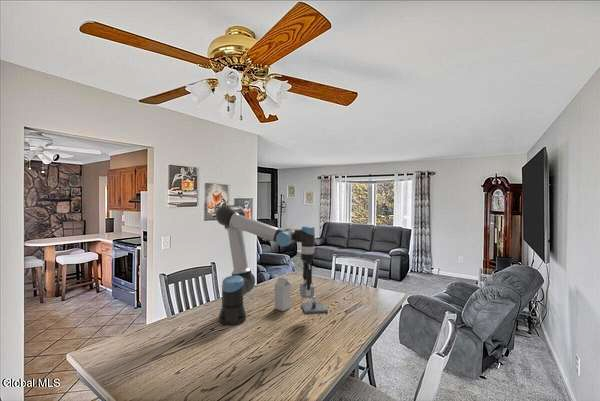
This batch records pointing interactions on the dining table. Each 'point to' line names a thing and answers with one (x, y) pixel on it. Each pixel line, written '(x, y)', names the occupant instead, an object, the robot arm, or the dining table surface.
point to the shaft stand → (314, 307)
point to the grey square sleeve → (303, 291)
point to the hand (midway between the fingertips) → (306, 292)
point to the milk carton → (282, 294)
